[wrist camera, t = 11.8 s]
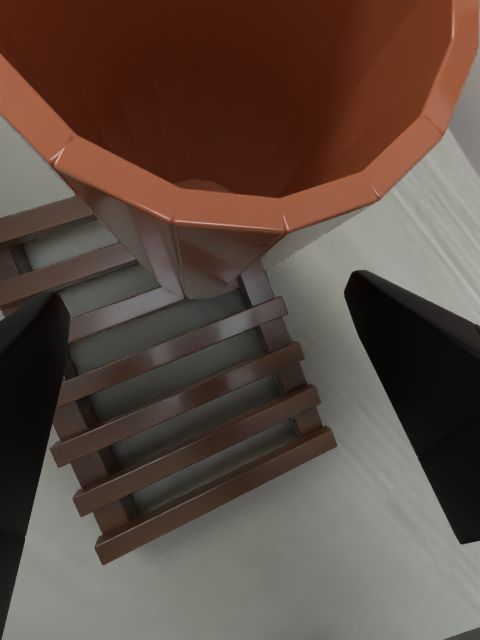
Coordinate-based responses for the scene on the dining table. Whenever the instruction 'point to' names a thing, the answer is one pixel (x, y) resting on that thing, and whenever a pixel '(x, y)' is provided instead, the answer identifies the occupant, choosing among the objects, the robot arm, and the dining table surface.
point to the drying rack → (94, 439)
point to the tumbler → (231, 117)
